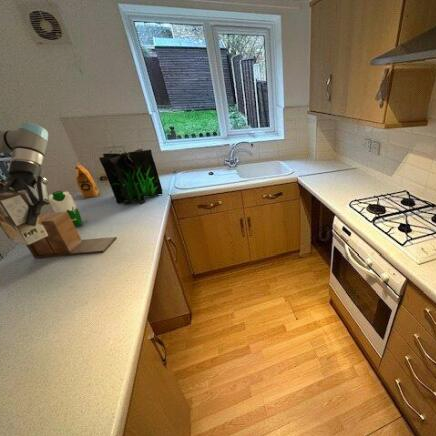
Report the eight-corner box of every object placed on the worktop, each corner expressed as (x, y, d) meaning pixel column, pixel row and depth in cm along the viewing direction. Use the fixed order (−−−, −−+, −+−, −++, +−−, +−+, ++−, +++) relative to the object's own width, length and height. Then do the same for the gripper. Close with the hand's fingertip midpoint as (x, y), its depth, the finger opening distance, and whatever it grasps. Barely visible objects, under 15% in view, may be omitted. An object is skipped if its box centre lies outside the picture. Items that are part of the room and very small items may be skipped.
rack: (34, 258, 105) (13, 225, 97) (54, 243, 116) (36, 212, 108) (103, 252, 109) (88, 219, 101) (116, 238, 119) (103, 207, 111)
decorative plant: (105, 202, 160) (87, 157, 146) (143, 187, 185) (130, 147, 171) (138, 207, 152) (122, 160, 138) (172, 191, 177) (162, 149, 163)
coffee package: (81, 199, 165) (66, 168, 155) (83, 193, 175) (70, 164, 164) (98, 196, 170) (85, 165, 159) (100, 191, 179) (88, 162, 169)
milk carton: (63, 230, 127) (45, 195, 118) (63, 224, 133) (46, 190, 124) (84, 225, 132) (68, 191, 123) (83, 219, 138) (68, 186, 129)
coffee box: (50, 235, 84) (26, 192, 77) (28, 245, 79) (0, 200, 71) (30, 232, 86) (5, 190, 79) (8, 241, 81) (-21, 197, 73)
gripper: (70, 168, 88) (60, 226, 82) (0, 172, 85) (-16, 232, 79) (53, 157, 81) (40, 220, 75) (-24, 160, 78) (-45, 225, 72)
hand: (11, 226), depth 77 cm, fingers closed on coffee box, 10 cm apart
